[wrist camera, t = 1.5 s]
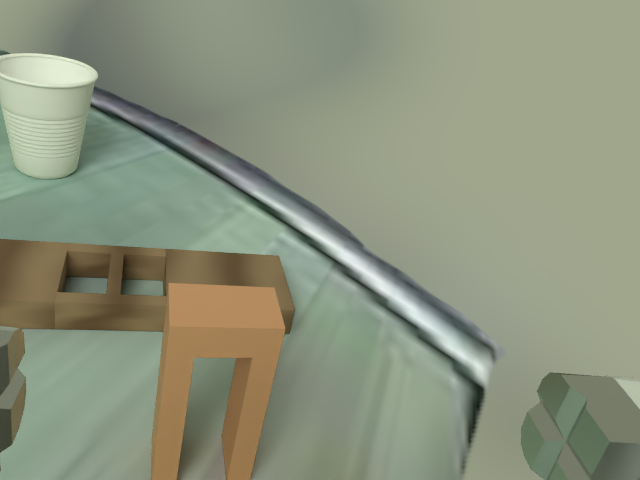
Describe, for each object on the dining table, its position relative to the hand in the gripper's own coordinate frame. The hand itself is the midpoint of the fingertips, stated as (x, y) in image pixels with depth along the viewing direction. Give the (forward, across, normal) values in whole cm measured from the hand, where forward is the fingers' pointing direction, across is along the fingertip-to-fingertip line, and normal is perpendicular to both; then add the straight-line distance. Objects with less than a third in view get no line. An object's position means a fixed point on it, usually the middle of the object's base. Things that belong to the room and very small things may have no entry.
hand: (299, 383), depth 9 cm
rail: (+35, -8, -22) cm, 43 cm away
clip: (+20, 0, -23) cm, 31 cm away
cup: (+57, -19, -21) cm, 64 cm away
